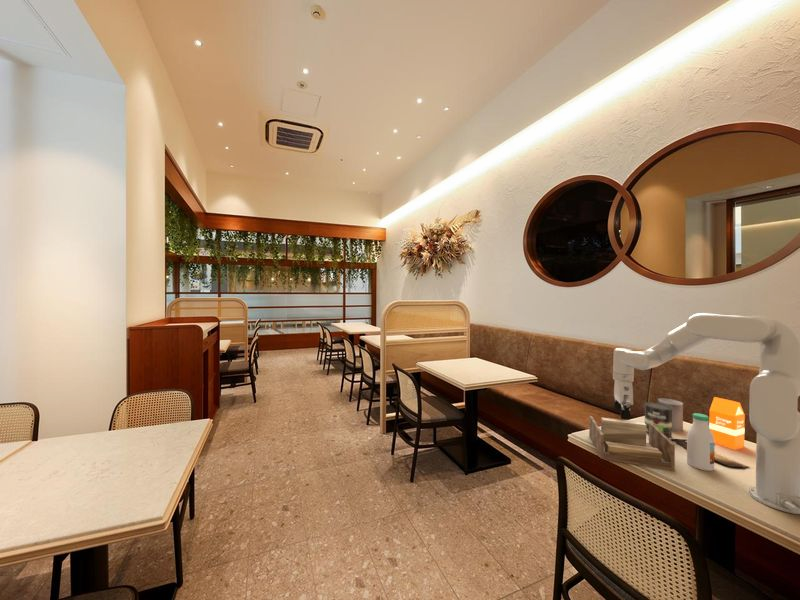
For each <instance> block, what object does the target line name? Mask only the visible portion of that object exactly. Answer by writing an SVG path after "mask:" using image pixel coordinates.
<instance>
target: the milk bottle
mask: <svg viewBox="0 0 800 600" xmlns="http://www.w3.org/2000/svg"><path fill="white" fill-rule="evenodd" d="M686 440H687V441H686V442H687V449H686V462H687V465H689V466H690V467H692V468H695V469H698V470H701V471H705V472H712V471H714V470H715V460H714V455H715V452H716V451H715V443H714V437H713V434H712V432H711V430H710V428H709V416H708V415H707V414H705V413H704V414H703V413H695V412H694V413H692V424H691V425H690V427H689V429H688V430H687V435H686Z"/></svg>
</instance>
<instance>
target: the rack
mask: <svg viewBox="0 0 800 600" xmlns="http://www.w3.org/2000/svg"><path fill="white" fill-rule="evenodd" d="M588 420H589V425H588V426H589V428H588V429H589V430H588V431H589V432H588V433H589V435H588V436H589V438H590V440H591V442H592V445H593V446H594V449H595V450H596V452H597V454H598V456H599V458H600V460H601V459H602V460H607V461H614V462H620V463H626V464H632V465H638V466H643V467H650V468H656V469H661V470H662V469H663V470H666V471H667V470H668V471H674V472H675V468H676V467H675V464H676V463H675V461H676V460H675V458H676V455H675V454H676V445H675V444H676V443H673V441H672V440H671V439H668V438H667V437H666V436H665V435H664V434H663V433H662V432H661V431H660V430H659V429H658V428H656V427H655V426H654V425H653V424H652V423H649V435H648V442H646V447H652V448H657V449H658V450H659V451H660V452H661V453H662V461H657V460H651V459H644V458H638V457H631V456H625V455H618V454H612V453H606V451H605V441H604V435H603V433H602V432H601V427H599V425H598V424H597V422H596V421H595V418H594V417H593V416H592V415H589V419H588ZM606 442H609V441H606ZM613 443H616V442H613ZM621 444H624V443H621ZM629 445H631V444H629ZM637 446H638V445H637Z"/></svg>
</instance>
